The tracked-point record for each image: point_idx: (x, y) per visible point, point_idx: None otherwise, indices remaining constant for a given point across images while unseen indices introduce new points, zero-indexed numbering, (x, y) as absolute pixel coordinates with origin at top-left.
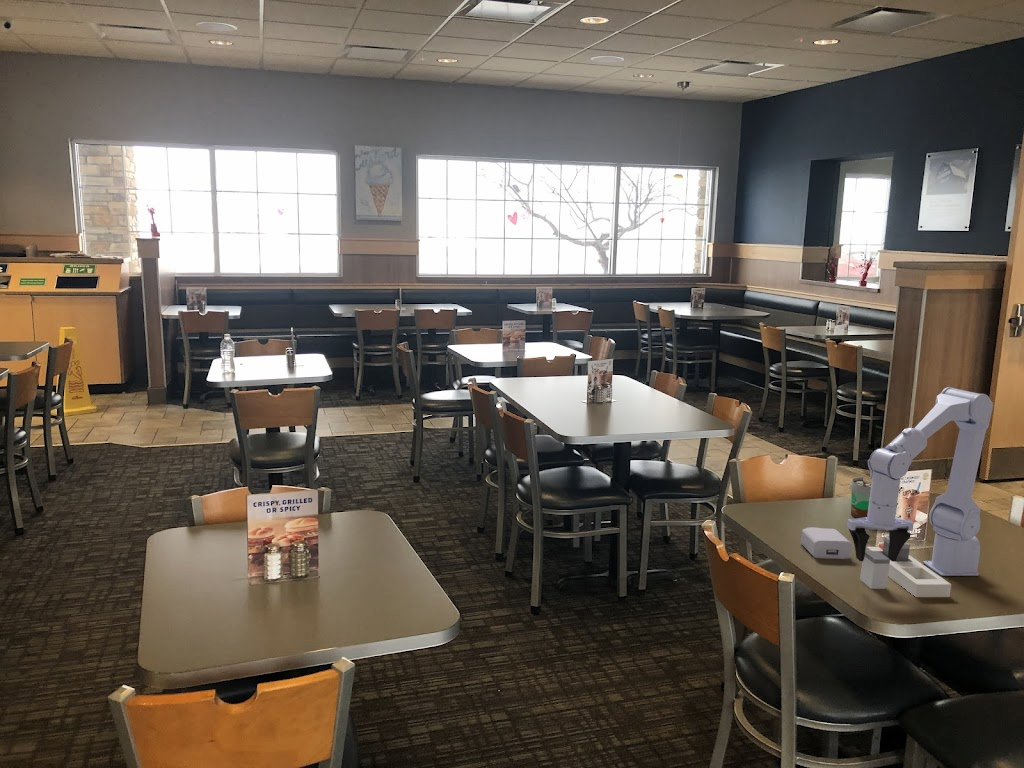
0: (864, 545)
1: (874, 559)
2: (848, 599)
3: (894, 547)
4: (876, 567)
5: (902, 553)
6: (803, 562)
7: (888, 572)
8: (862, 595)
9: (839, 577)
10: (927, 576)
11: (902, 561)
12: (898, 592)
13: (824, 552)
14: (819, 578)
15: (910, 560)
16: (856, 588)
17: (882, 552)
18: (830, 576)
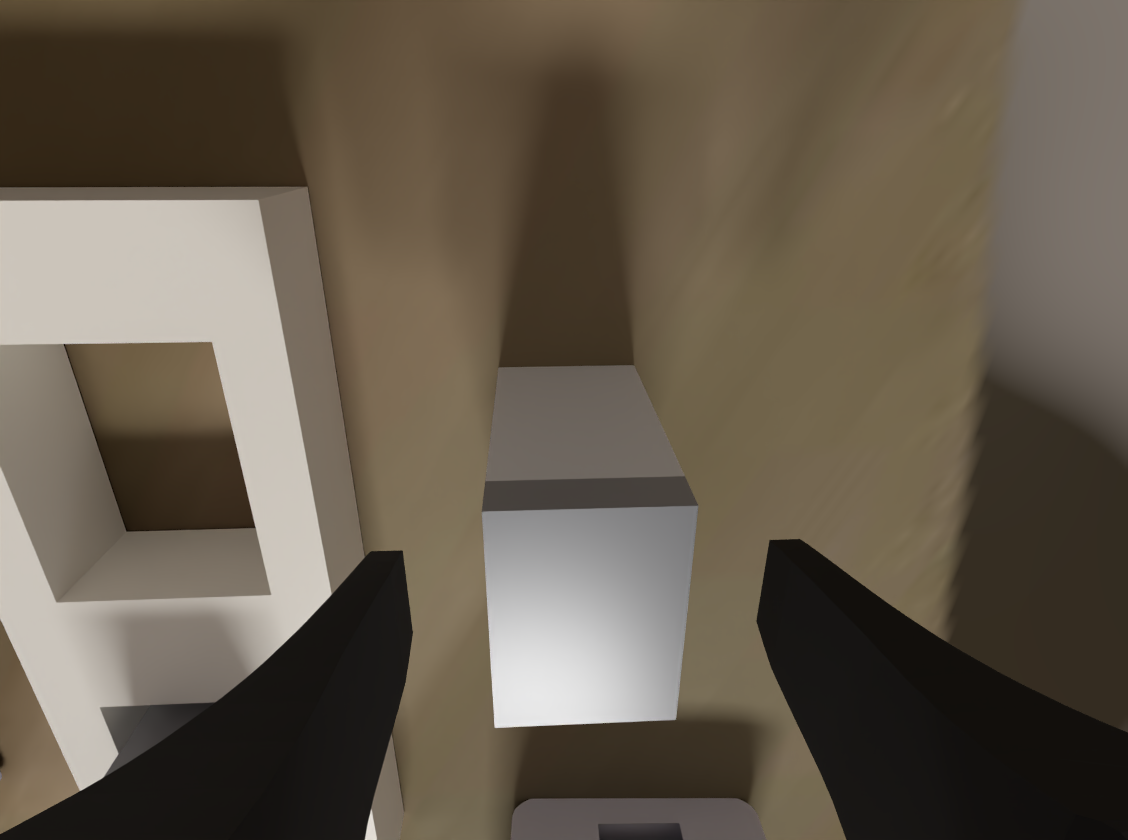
0: (928, 670)
1: (695, 510)
2: (980, 143)
3: (352, 704)
4: (639, 455)
5: None
6: None
7: None
8: (793, 230)
9: (765, 550)
10: (47, 485)
11: (192, 715)
12: (423, 294)
13: (693, 837)
14: (928, 530)
15: (113, 728)
16: (756, 368)
17: None
18: None
